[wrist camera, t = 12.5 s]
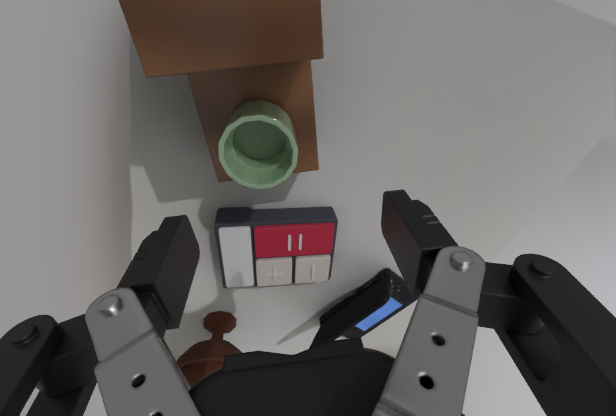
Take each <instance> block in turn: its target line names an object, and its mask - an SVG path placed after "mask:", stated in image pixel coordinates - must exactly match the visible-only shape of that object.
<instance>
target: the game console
mask: <svg viewBox="0 0 616 416" xmlns="http://www.w3.org/2000/svg"><path fill="white" fill-rule="evenodd" d="M417 299H418V298H413V297H412V295H411V293H410V291H409V289H408V287H407V285H406V282H405V281H404V280H403V279H402V278H401V277H399V276H398V275H397V274H395V273H394V272H392V271H391V270H390V269H388V268H386V269H384V270H383V271H381V272H380V273H379V274H378V275H377V276H375V277H374V278H373V279H371V280H370V281H369V282H367V283H366V284H365V285H363V286H362V287H361V288H360V289H359V290H357V292H356V293H355V294H354V295H353V296H351V297H348V298H347V299H345V300H343V301H342V302H341V303H339V304H338V305H337V306H335V307H334V308H333V309H331V310H330V311H329V312H327V313H325V314H324V315H322V316H321V317H320V325H321V327H320V328H319V330H318V332H317V334H316V336H315V338H314V340H313V342H312V344H311V346H310V348H313V347H315V346H318V345H320V344H323V343H325V342H328V341H334V340H335V339H337V338H338V337H340V336H341V335H343V336H345V337H347V338H349V339H350V338H358V337H362V336H364V335H365V334H367V333H368V332H370V331H371V330H373V329H374V328H376V327H377V326H379V325H380V324H382V323H383V322H385V321H386V320H388V319H389V318H391V317H392V316H394V315H395V314H397V313H398V312H400V311H401V310H403V309H404V308H406V307H407V306H408V305H410V304H411V303H413V302H414V301H416V300H417ZM310 348H309V349H310Z"/></svg>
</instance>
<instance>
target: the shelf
mask: <svg viewBox="0 0 616 416" xmlns="http://www.w3.org/2000/svg"><path fill="white" fill-rule="evenodd" d="M119 2H120V5H121V8H122V11H123V13H124V16H125V19H126V22H127V24H128V27H129V30H130V33H131V35H132V38H133V41H134V44H135V46H136V49H137V52H138V55H139V58H140V60H141V63H142V66H143V69H144V71H145V74H146V77H148V78H150V77H159V76H168V75H177V74H186V73H187V75H188V78H189V82H190V85H191V89H192V92H193V96H194V99H195V102H196V106H197V109H198V113H199V116H200V120H201V123H202V127H203V130H204V133H205V137H206V140H207V144H208V147H209V151H210V154H211V158H212V161H213V165H214V168H215V171H216V175H217V178H218V182H224V181H232V180H233V179H232V178H231V177H230V176H228V175H227V174H226V172H225V170H224V168H223V166H222V164H221V163H220V161H219V149H218V143H219V140H220V138H221V135H222V133H223V131H224V128H225V126H226V123H227V122H228V120H229V118H230V116H231V114H232V112H233V111H234V110H235V109H236V108H238V107H239V106H241V105H242V104H244V103H245V102H250V101H258V100H264V101H267V102H270V103H273V104H276V105H278V106H279V107H280V108H281V109H282V110H283V111H284V112H285V113H286V114H287V115H288V116H289V117H290V119H291V121H292V124H293V127H294V130H295V135H296V140H297V146H298V157H297V165H296V167H295V169H294V170H293V172H292V173H297V172H305V171H314V170H319V165H318V152H317V139H316V125H315V112H314V98H313V85H312V71H311V60H312V59H321V58H323V38H322V18H321V0H119Z"/></svg>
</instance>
